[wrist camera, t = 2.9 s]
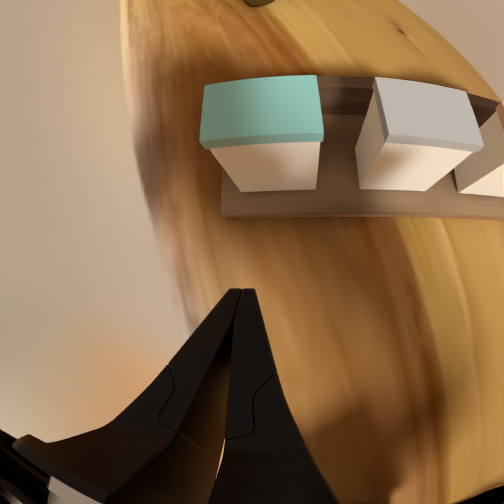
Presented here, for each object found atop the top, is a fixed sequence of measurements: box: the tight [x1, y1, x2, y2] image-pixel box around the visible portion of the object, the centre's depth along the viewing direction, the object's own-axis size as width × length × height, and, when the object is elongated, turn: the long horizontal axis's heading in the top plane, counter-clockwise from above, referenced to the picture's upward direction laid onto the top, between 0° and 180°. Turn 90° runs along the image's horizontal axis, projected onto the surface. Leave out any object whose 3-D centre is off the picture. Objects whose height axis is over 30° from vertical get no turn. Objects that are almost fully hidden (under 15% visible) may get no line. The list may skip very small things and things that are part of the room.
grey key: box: [355, 77, 484, 191], centre depth 14 cm, size 3×5×8 cm, turn 90°
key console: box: [221, 76, 504, 220], centre depth 17 cm, size 9×24×5 cm, turn 90°
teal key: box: [199, 75, 324, 192], centre depth 15 cm, size 3×5×8 cm, turn 90°
